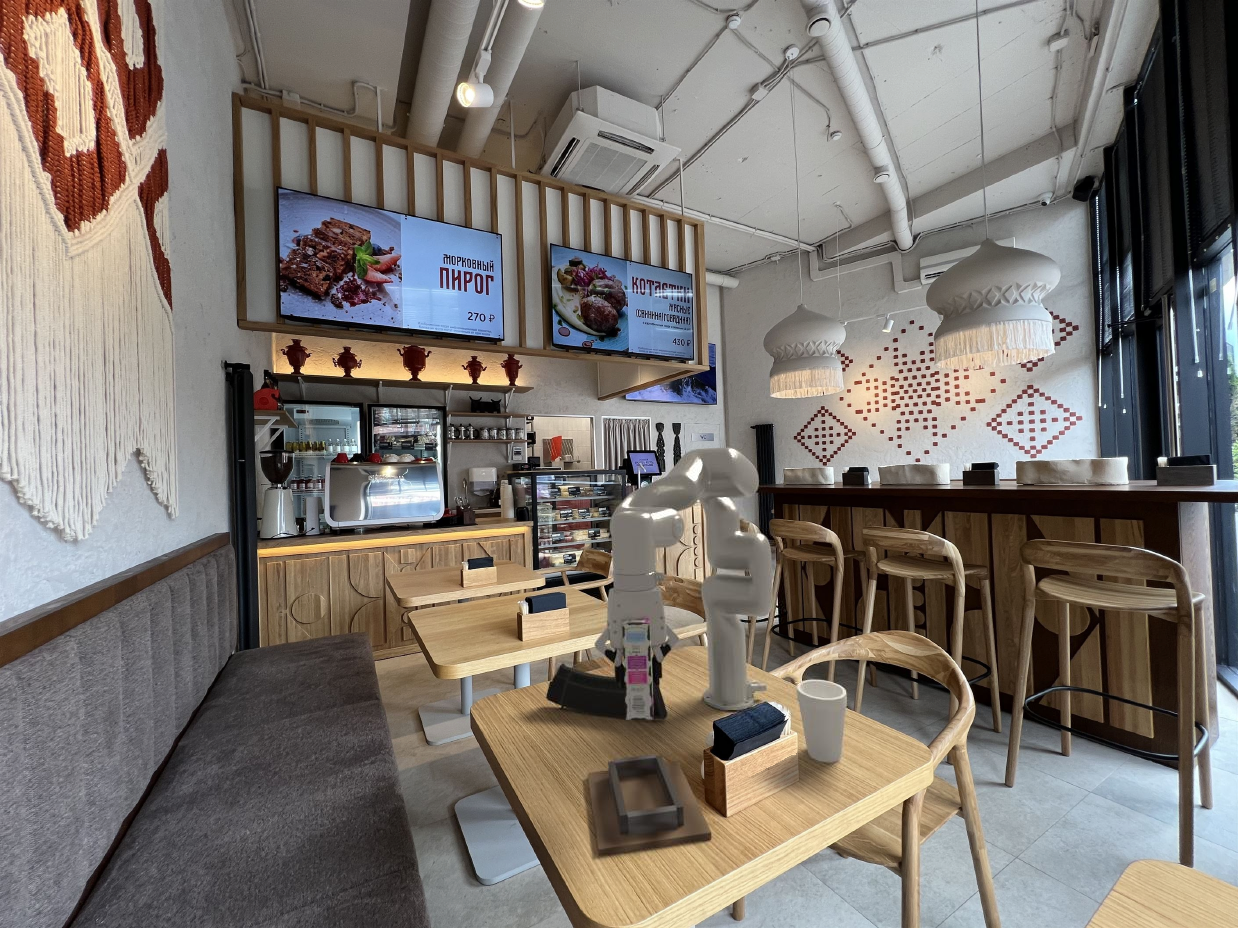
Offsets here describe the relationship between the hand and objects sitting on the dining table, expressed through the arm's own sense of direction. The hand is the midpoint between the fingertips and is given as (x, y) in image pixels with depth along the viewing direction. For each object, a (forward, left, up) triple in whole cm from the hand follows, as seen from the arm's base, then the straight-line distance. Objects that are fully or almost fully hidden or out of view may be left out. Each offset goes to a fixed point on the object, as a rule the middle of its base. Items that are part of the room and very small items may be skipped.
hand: (638, 683), depth 89 cm
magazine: (+3, -35, -22) cm, 41 cm away
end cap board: (0, 0, -21) cm, 21 cm away
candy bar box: (0, -1, -5) cm, 5 cm away
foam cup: (-39, -8, -22) cm, 45 cm away
